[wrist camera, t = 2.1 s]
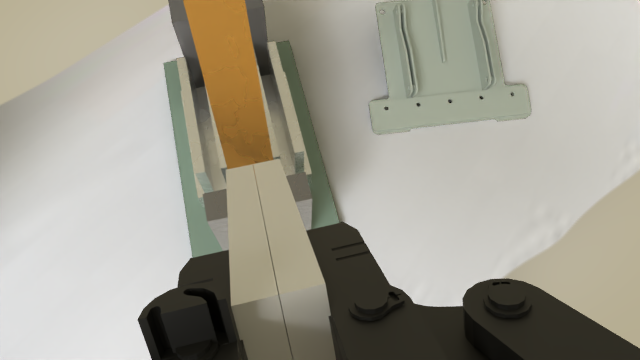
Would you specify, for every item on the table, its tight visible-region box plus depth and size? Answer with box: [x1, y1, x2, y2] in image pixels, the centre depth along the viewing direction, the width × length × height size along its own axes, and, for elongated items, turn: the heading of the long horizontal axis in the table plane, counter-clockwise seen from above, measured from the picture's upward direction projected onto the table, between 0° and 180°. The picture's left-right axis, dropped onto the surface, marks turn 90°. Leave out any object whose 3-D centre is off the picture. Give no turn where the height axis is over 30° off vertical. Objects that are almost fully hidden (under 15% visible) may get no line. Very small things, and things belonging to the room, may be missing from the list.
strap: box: [183, 0, 273, 187], centre depth 29 cm, size 16×3×1 cm
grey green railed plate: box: [164, 41, 339, 258], centre depth 43 cm, size 19×12×1 cm, turn 14°
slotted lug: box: [168, 0, 270, 88], centre depth 41 cm, size 4×7×10 cm, turn 104°
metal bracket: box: [369, 0, 531, 135], centre depth 47 cm, size 14×6×15 cm
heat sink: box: [177, 41, 312, 251], centre depth 39 cm, size 14×9×8 cm, turn 14°
